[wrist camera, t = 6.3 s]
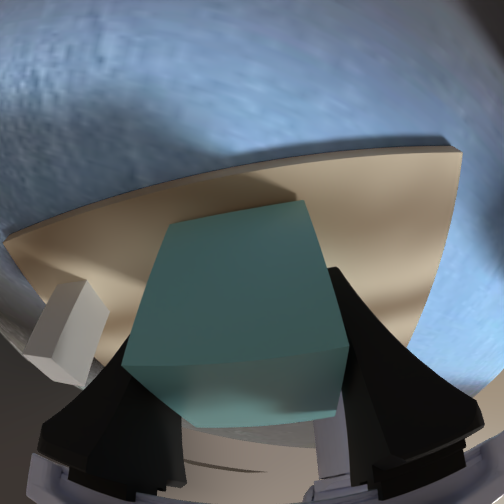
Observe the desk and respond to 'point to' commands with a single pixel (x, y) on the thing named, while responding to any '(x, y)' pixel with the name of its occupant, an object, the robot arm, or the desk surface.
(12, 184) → the desk surface
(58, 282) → the board
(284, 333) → the teal green block
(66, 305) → the grey post
